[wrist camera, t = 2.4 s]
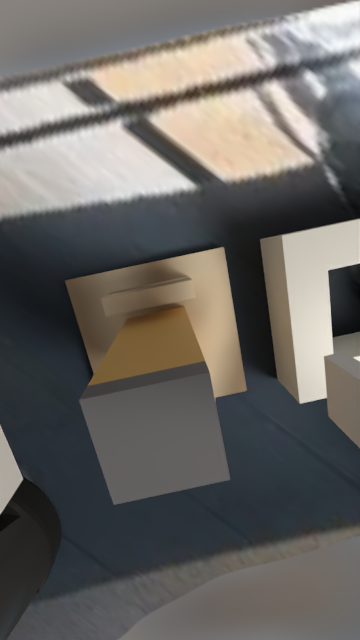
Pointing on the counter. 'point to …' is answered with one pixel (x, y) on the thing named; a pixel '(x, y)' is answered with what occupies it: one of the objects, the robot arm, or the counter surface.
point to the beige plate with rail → (163, 294)
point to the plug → (155, 410)
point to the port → (307, 303)
